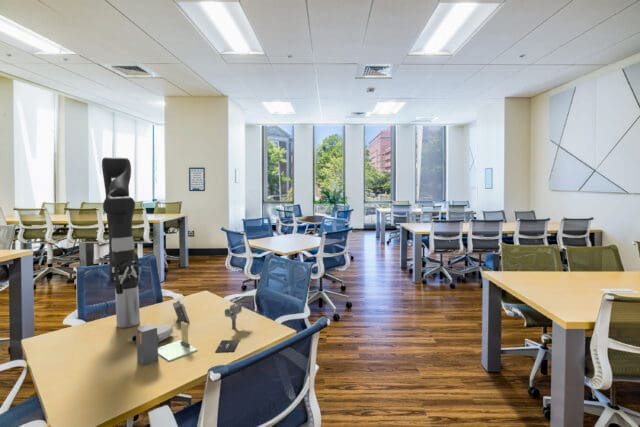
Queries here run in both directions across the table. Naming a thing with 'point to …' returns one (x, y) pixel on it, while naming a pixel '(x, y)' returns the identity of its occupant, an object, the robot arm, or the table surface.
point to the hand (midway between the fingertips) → (126, 290)
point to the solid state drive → (227, 346)
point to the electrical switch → (180, 311)
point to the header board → (177, 346)
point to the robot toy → (159, 333)
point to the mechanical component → (233, 313)
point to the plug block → (147, 344)
